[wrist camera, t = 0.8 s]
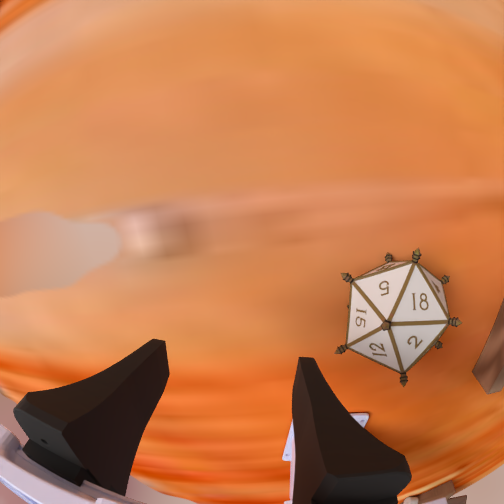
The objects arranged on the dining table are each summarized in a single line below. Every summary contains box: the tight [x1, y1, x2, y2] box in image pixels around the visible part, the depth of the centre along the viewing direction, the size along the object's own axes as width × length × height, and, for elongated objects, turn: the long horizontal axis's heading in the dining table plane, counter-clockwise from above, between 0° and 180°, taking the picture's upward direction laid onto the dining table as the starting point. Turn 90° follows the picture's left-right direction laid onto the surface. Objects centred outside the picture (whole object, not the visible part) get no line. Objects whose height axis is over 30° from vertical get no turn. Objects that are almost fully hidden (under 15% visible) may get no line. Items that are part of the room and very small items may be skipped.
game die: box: [334, 248, 462, 387], centre depth 17 cm, size 9×8×10 cm
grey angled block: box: [401, 480, 467, 504], centre depth 31 cm, size 8×13×18 cm
